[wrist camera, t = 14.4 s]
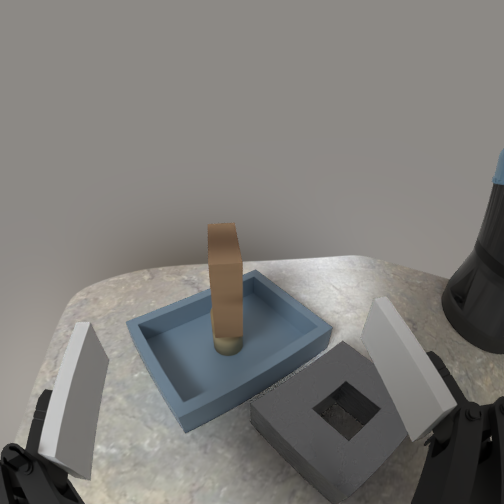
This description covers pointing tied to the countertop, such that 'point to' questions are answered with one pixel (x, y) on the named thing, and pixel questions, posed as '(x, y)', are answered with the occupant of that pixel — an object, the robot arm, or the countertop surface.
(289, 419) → the socket block
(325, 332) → the tray
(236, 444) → the countertop surface
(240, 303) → the key
